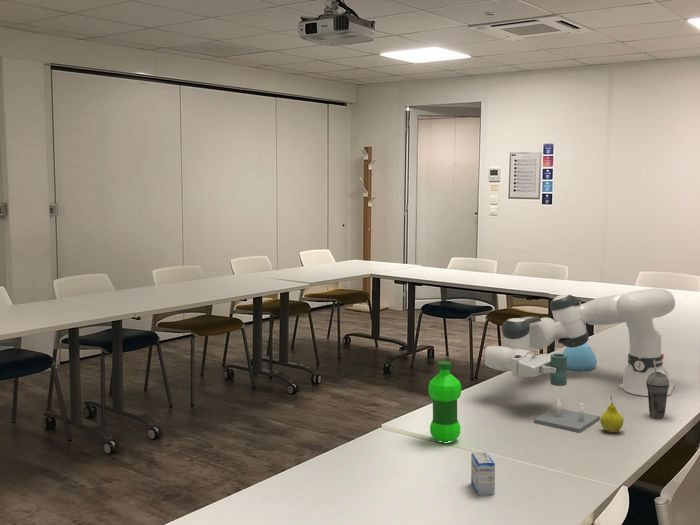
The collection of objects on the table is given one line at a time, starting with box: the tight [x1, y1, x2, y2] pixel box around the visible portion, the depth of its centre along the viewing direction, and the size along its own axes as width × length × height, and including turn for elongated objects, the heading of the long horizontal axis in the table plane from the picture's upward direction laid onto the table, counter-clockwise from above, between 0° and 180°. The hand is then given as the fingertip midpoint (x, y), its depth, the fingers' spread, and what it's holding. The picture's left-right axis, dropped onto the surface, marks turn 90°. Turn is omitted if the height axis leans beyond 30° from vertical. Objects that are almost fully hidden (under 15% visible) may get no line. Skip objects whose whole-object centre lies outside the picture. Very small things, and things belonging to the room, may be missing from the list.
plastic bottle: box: [428, 360, 462, 442], centre depth 225 cm, size 10×10×25 cm
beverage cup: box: [646, 359, 670, 420], centre depth 242 cm, size 7×7×20 cm
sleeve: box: [549, 353, 568, 387], centre depth 246 cm, size 5×5×10 cm
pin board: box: [533, 398, 601, 434], centre depth 241 cm, size 16×16×7 cm
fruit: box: [599, 396, 624, 434], centre depth 230 cm, size 7×7×12 cm
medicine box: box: [470, 451, 496, 496], centre depth 190 cm, size 8×4×9 cm, turn 5°
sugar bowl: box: [561, 343, 598, 371], centre depth 311 cm, size 15×15×12 cm
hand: (561, 368), depth 245 cm, fingers closed on sleeve, 5 cm apart
